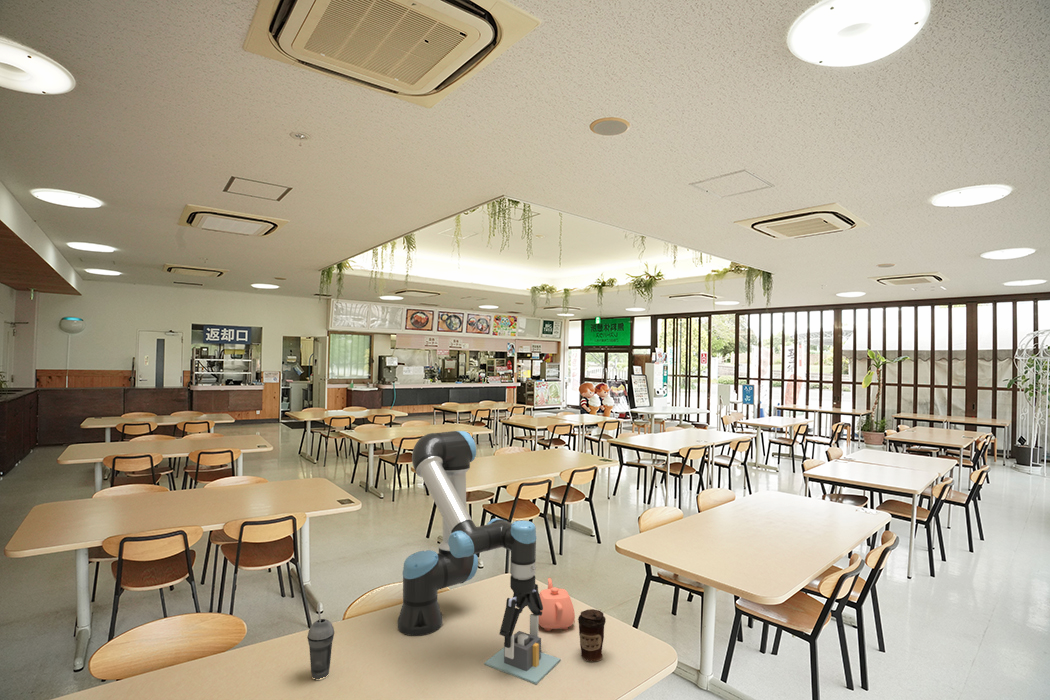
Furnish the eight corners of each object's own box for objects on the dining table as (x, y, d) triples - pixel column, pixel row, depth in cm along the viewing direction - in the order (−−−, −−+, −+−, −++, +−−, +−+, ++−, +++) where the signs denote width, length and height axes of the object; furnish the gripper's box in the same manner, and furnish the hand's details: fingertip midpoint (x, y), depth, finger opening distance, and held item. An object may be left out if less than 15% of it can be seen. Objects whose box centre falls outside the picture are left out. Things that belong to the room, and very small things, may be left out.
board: (484, 664, 154) (484, 638, 155) (511, 643, 166) (511, 619, 166) (536, 684, 145) (536, 656, 145) (560, 660, 156) (560, 635, 157)
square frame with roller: (504, 662, 154) (504, 642, 154) (518, 650, 161) (518, 630, 161) (530, 672, 149) (530, 651, 149) (544, 659, 156) (544, 639, 156)
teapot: (566, 608, 190) (566, 575, 191) (580, 636, 170) (580, 599, 171) (530, 611, 188) (530, 577, 189) (540, 639, 168) (540, 601, 169)
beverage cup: (317, 686, 144) (318, 612, 144) (301, 678, 147) (302, 606, 148) (339, 673, 150) (340, 602, 150) (323, 665, 154) (324, 596, 154)
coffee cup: (605, 666, 153) (604, 621, 154) (576, 663, 155) (576, 619, 155) (606, 650, 162) (606, 608, 162) (579, 648, 163) (579, 606, 164)
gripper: (509, 593, 144) (508, 671, 143) (554, 564, 165) (553, 632, 164) (488, 586, 148) (486, 662, 147) (534, 559, 169) (533, 625, 168)
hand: (522, 646), depth 156 cm, fingers open, 13 cm apart
